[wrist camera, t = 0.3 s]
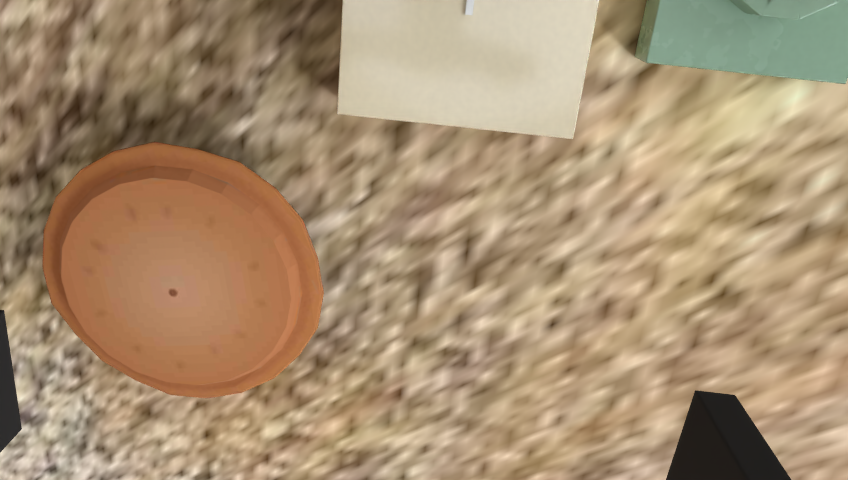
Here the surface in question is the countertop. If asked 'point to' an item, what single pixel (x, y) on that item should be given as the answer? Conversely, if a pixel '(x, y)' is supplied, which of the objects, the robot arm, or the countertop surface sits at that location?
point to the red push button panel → (749, 37)
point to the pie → (182, 270)
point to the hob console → (467, 62)
